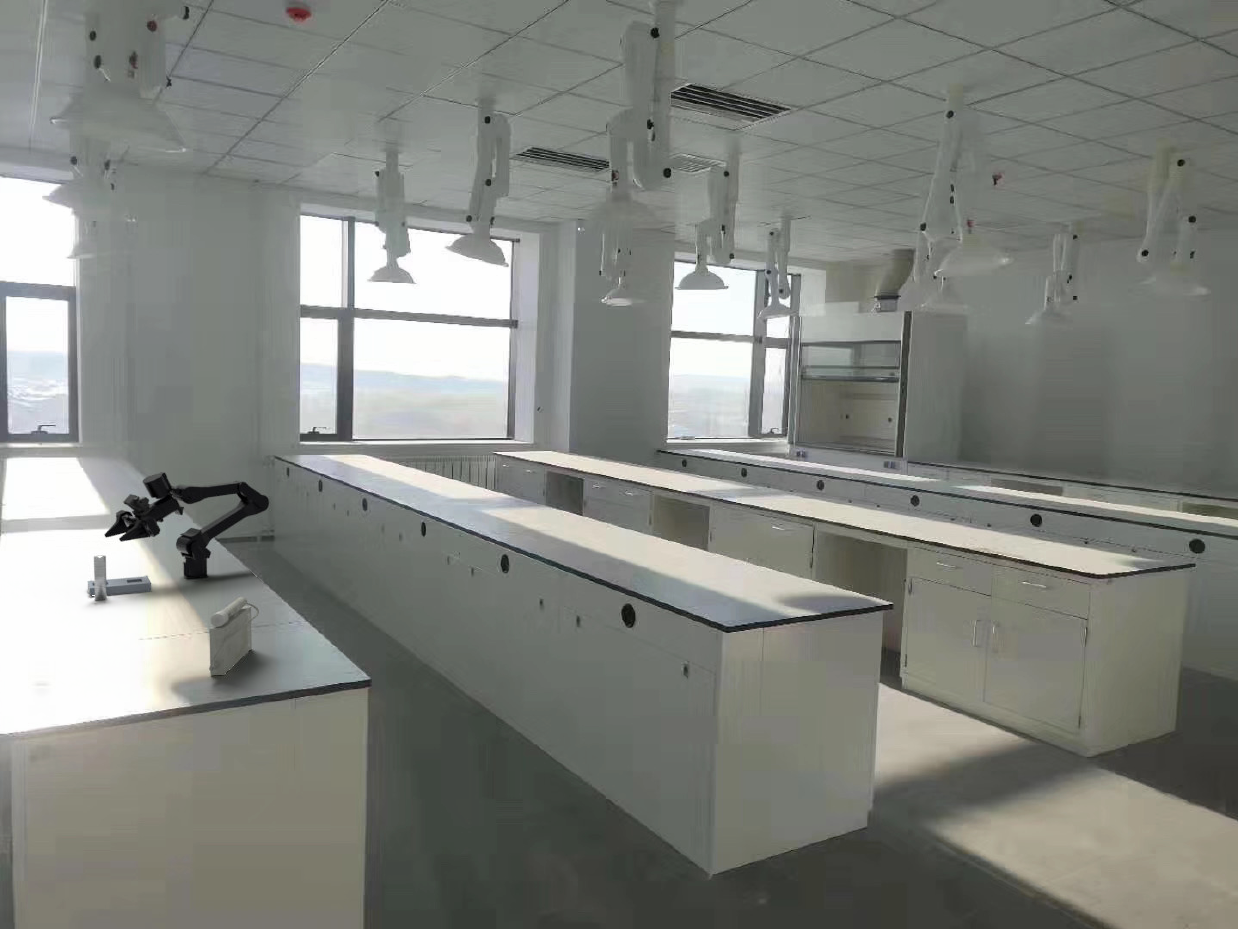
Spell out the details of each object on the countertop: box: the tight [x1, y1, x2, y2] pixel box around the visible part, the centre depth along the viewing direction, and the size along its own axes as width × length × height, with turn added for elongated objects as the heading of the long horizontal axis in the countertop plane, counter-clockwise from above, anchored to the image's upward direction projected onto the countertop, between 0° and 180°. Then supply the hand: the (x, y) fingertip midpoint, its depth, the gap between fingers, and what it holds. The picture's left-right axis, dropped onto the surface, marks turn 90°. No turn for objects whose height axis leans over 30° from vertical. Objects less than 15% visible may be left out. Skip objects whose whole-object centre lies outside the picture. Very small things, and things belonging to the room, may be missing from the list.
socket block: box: [87, 575, 152, 597], centre depth 273 cm, size 16×10×2 cm, turn 123°
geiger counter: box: [208, 596, 260, 675], centre depth 209 cm, size 14×6×25 cm
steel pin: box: [93, 555, 108, 601], centre depth 262 cm, size 3×3×12 cm
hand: (112, 538), depth 271 cm, fingers open, 9 cm apart
